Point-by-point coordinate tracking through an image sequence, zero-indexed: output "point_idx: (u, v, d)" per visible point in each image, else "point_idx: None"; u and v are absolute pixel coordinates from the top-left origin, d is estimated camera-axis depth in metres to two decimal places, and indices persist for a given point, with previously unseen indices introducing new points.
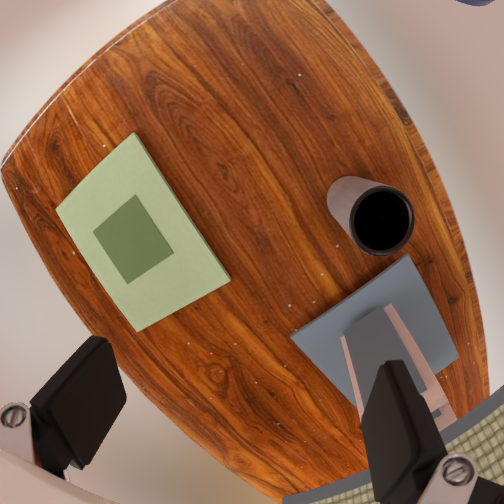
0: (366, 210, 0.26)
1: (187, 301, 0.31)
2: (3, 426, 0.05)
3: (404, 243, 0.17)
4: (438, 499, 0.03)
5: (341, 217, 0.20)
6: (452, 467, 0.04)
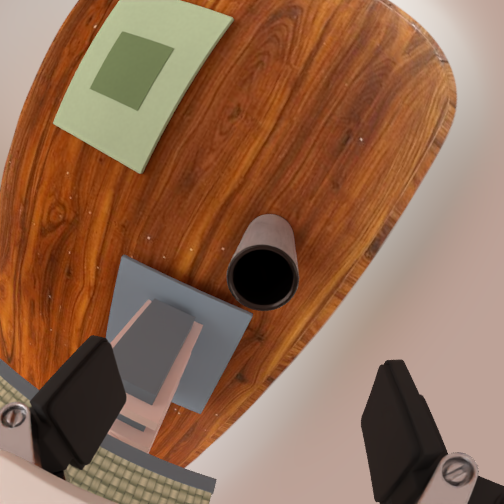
0: (268, 257, 0.28)
1: (101, 147, 0.27)
2: (3, 426, 0.05)
3: (255, 308, 0.19)
4: (438, 499, 0.03)
5: (246, 239, 0.21)
6: (452, 467, 0.04)
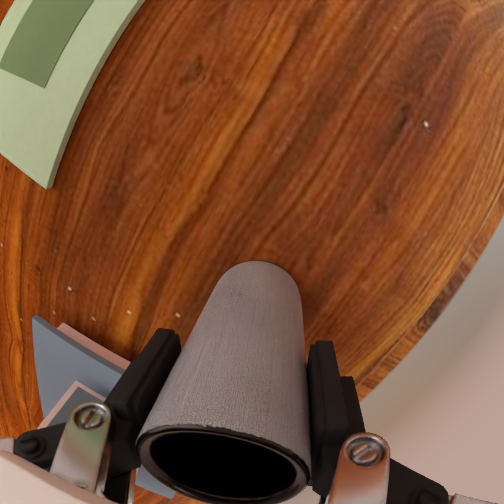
0: None
1: (4, 151, 0.14)
2: (79, 429, 0.05)
3: (211, 502, 0.06)
4: (336, 475, 0.05)
5: (186, 362, 0.08)
6: (358, 448, 0.05)
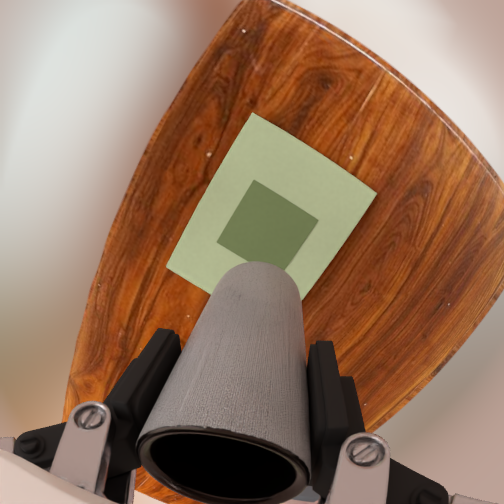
0: None
1: None
2: (80, 429, 0.05)
3: (211, 503, 0.06)
4: (336, 475, 0.05)
5: (186, 363, 0.08)
6: (358, 448, 0.05)
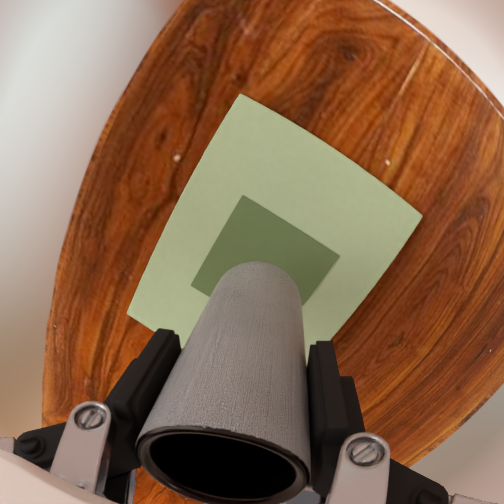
0: None
1: None
2: (79, 429, 0.05)
3: (211, 503, 0.06)
4: (336, 475, 0.05)
5: (185, 363, 0.08)
6: (358, 448, 0.05)
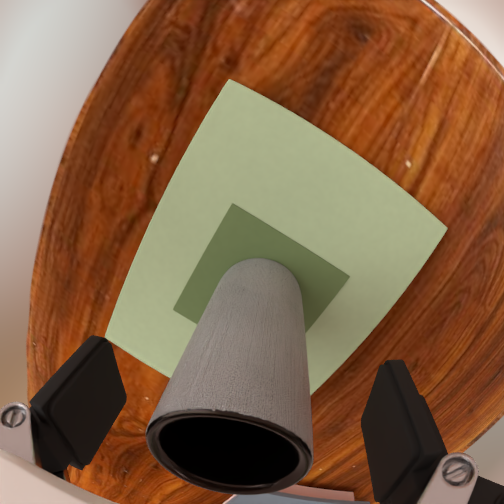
0: None
1: None
2: (3, 426, 0.05)
3: (216, 490, 0.07)
4: (438, 499, 0.03)
5: (193, 352, 0.08)
6: (452, 467, 0.04)
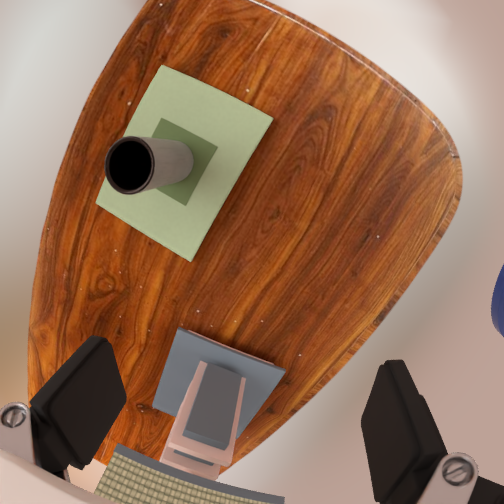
0: None
1: (151, 235, 0.33)
2: (3, 426, 0.05)
3: (124, 192, 0.21)
4: (438, 499, 0.03)
5: None
6: (452, 467, 0.04)
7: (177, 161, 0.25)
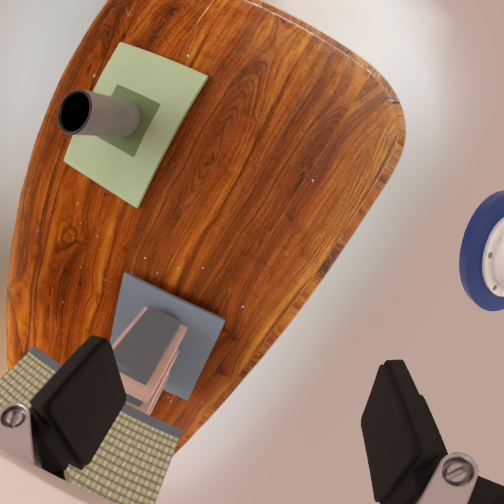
0: None
1: (105, 185, 0.34)
2: (3, 426, 0.05)
3: (69, 133, 0.22)
4: (438, 499, 0.03)
5: None
6: (452, 467, 0.04)
7: (119, 112, 0.26)
